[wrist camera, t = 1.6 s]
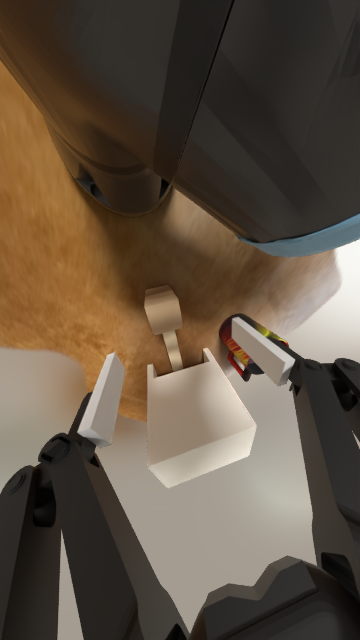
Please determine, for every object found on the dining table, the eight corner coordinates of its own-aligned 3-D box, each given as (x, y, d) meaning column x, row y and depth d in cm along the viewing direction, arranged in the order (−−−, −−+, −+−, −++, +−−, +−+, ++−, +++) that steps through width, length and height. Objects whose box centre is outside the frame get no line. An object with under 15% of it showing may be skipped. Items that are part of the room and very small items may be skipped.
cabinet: (147, 365, 37) (147, 466, 19) (207, 347, 39) (256, 425, 21) (160, 396, 44) (168, 490, 27) (210, 380, 46) (248, 458, 29)
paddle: (145, 289, 27) (144, 307, 19) (168, 284, 28) (178, 299, 19) (169, 370, 39) (176, 403, 31) (185, 365, 40) (196, 396, 31)
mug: (225, 356, 42) (250, 390, 32) (215, 322, 35) (244, 352, 25) (252, 343, 42) (286, 373, 32) (248, 307, 35) (290, 331, 25)
